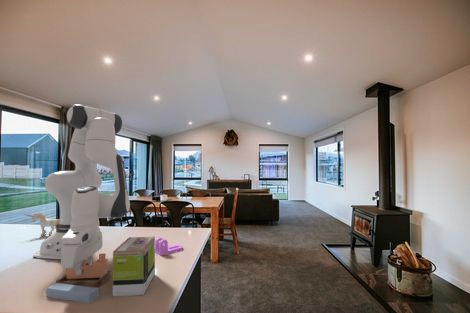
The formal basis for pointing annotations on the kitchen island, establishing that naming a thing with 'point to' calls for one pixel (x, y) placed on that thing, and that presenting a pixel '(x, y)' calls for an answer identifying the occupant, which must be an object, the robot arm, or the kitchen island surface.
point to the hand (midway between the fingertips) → (83, 270)
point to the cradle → (85, 283)
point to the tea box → (133, 266)
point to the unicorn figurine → (45, 222)
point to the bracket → (165, 247)
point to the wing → (72, 292)
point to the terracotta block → (91, 269)
